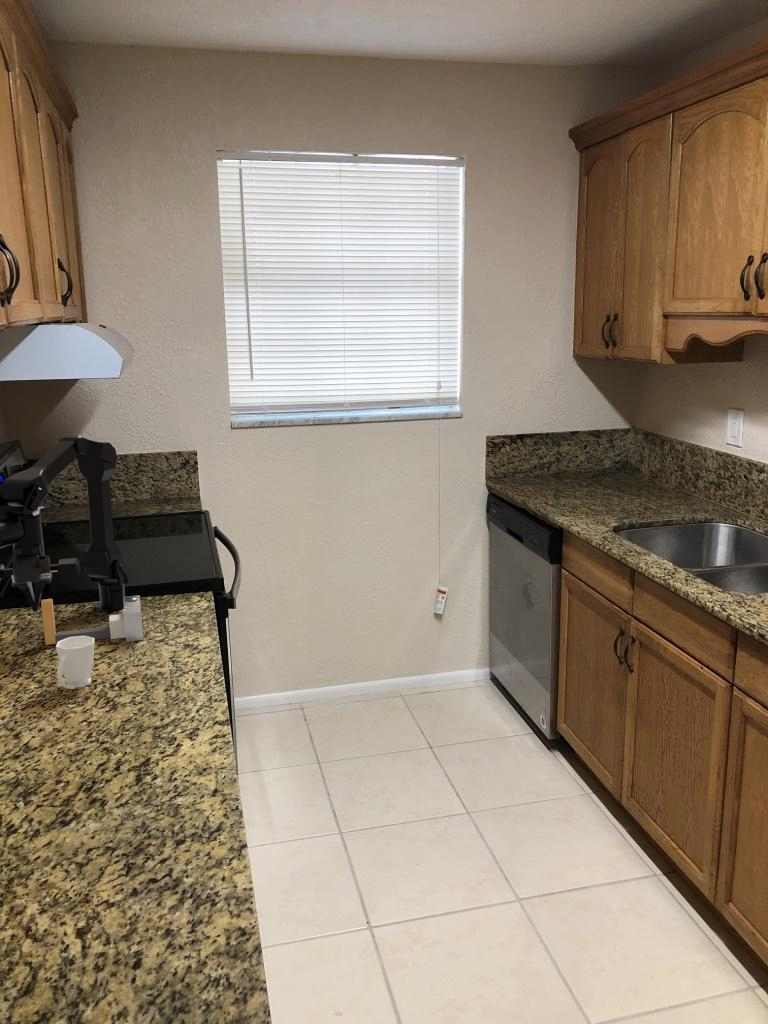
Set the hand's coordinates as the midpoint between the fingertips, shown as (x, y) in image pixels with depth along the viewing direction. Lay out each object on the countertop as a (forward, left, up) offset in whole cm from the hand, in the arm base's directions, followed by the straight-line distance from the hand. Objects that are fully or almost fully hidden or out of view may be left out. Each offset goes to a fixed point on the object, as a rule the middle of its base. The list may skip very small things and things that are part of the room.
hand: (35, 611), depth 171 cm
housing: (+5, +19, -7) cm, 21 cm away
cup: (+27, -1, -8) cm, 28 cm away
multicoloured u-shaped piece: (+4, +10, -7) cm, 12 cm away
